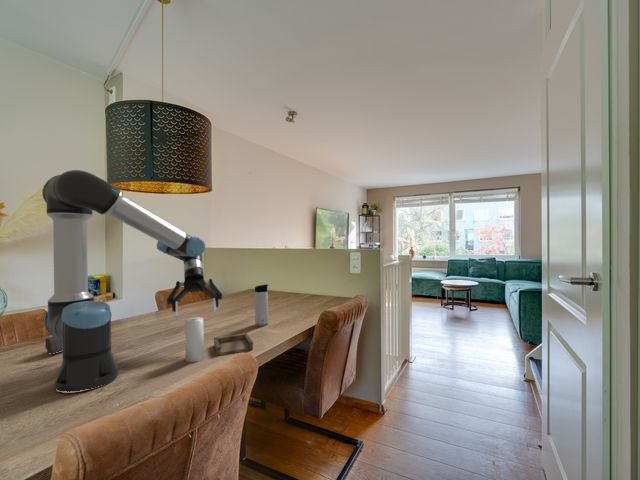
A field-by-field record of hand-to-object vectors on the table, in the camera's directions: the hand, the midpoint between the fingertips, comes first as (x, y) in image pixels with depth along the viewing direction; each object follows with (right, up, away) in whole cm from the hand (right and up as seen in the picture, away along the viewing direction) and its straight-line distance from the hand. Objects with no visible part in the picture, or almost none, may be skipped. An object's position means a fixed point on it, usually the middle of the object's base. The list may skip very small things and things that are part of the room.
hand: (196, 316), depth 114 cm
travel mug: (+18, -13, +34) cm, 41 cm away
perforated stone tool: (-53, -15, +3) cm, 55 cm away
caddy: (+13, -13, +3) cm, 19 cm away
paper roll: (+2, -13, -7) cm, 15 cm away
